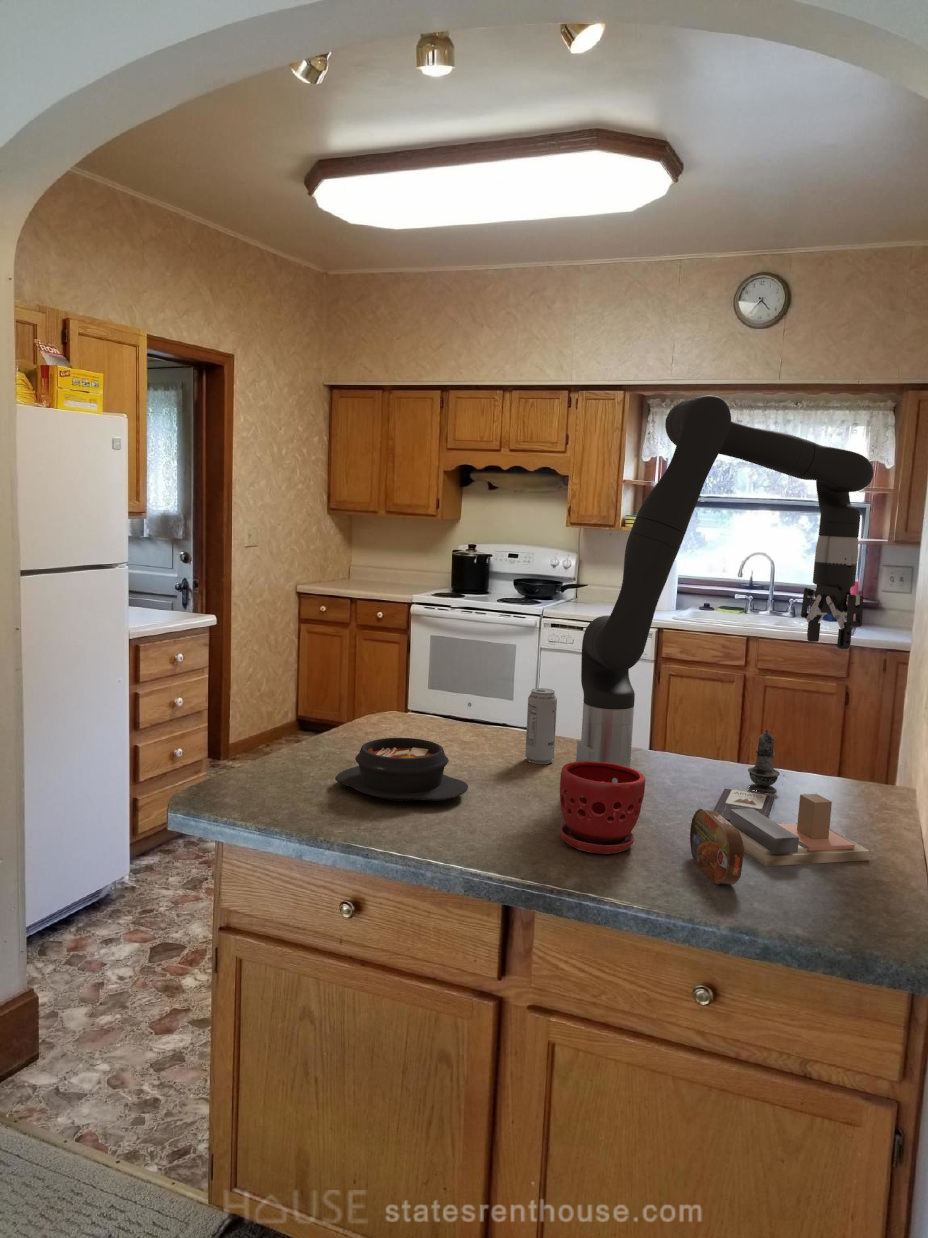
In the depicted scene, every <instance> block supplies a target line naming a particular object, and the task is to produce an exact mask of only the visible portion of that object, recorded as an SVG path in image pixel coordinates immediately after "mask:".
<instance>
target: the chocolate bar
mask: <svg viewBox="0 0 928 1238" xmlns="http://www.w3.org/2000/svg"><path fill="white" fill-rule="evenodd" d="M774 799H775V796H774V795H769V794H764V793H758V792H750V791H743V790H737V789H733V788H732V789H731V788H724V789H723V791H722V793H721V795H720V796H719V798H718V801H716V804H715V806H714V808H713V810H712V811H716V812H718V813H719V814H721V815H722V816H723V817H724V818H725V819H726V820H727V821H728V822H730V811H731V809H754V810H756V811H757V812H759V813H760V814H762V815H764V816H765V817H767V818H769V814H770V812H771V809H772V807H773V804H774Z"/></svg>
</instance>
